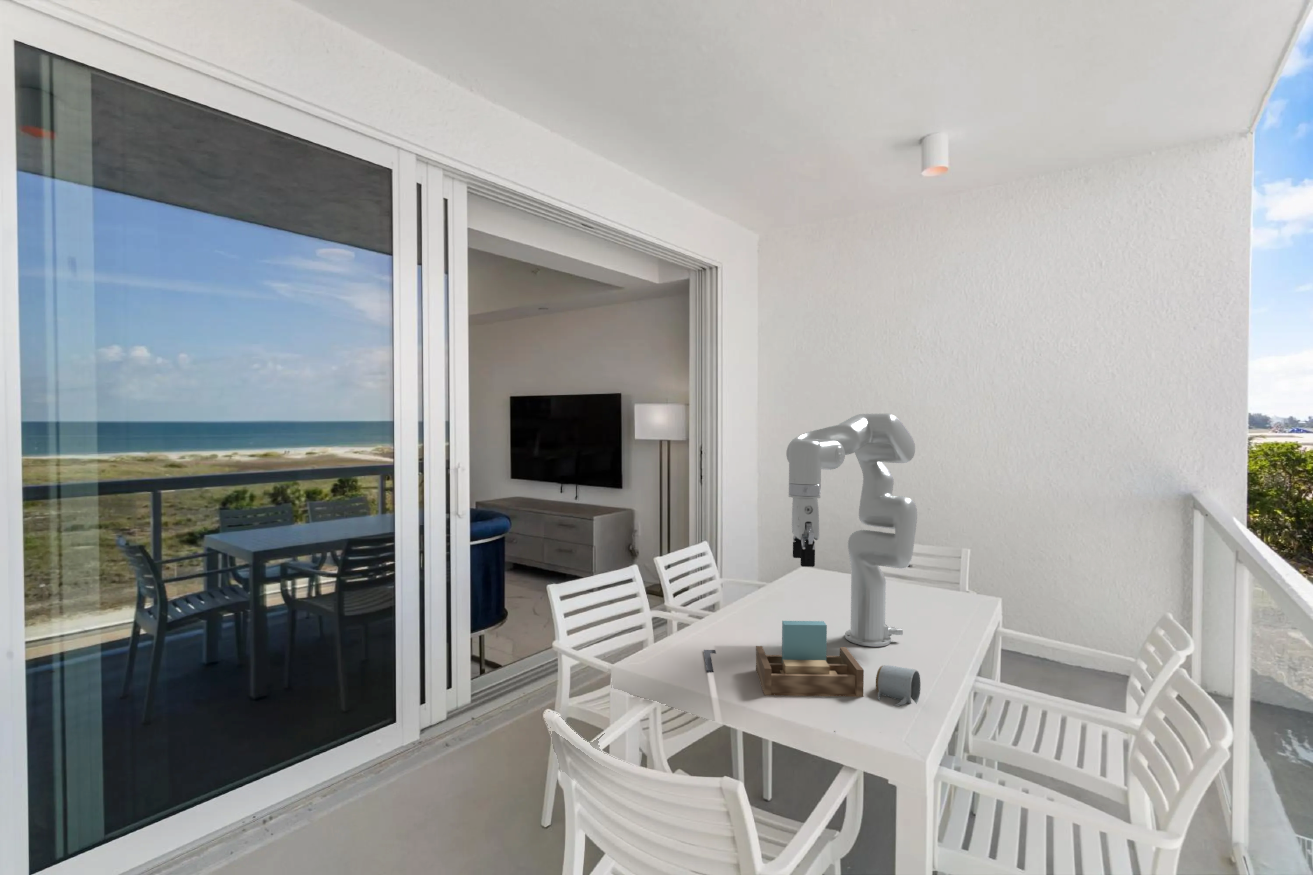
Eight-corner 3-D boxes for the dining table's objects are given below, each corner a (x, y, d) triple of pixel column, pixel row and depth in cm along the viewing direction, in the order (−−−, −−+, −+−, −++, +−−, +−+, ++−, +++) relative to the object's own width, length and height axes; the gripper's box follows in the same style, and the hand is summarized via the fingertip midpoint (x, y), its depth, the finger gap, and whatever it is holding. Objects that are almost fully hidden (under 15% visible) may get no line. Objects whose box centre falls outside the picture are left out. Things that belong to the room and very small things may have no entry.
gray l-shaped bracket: (762, 652, 168) (762, 650, 168) (770, 672, 154) (770, 670, 154) (703, 651, 168) (703, 649, 168) (706, 672, 154) (706, 670, 154)
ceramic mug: (884, 689, 145) (884, 657, 144) (921, 699, 140) (921, 665, 139) (868, 706, 136) (868, 672, 136) (907, 717, 131) (907, 681, 131)
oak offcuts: (835, 683, 144) (835, 660, 144) (839, 690, 140) (839, 666, 140) (779, 682, 145) (779, 659, 144) (782, 689, 141) (782, 665, 140)
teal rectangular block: (823, 674, 150) (823, 621, 149) (826, 679, 147) (826, 625, 146) (781, 673, 150) (782, 620, 149) (784, 678, 147) (784, 624, 146)
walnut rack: (845, 677, 151) (845, 647, 151) (863, 703, 137) (863, 669, 137) (755, 675, 152) (756, 645, 152) (764, 701, 138) (764, 668, 138)
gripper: (829, 495, 140) (827, 570, 140) (812, 488, 157) (811, 555, 157) (795, 494, 140) (794, 569, 140) (782, 487, 157) (781, 554, 157)
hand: (803, 561), depth 148 cm, fingers open, 9 cm apart
